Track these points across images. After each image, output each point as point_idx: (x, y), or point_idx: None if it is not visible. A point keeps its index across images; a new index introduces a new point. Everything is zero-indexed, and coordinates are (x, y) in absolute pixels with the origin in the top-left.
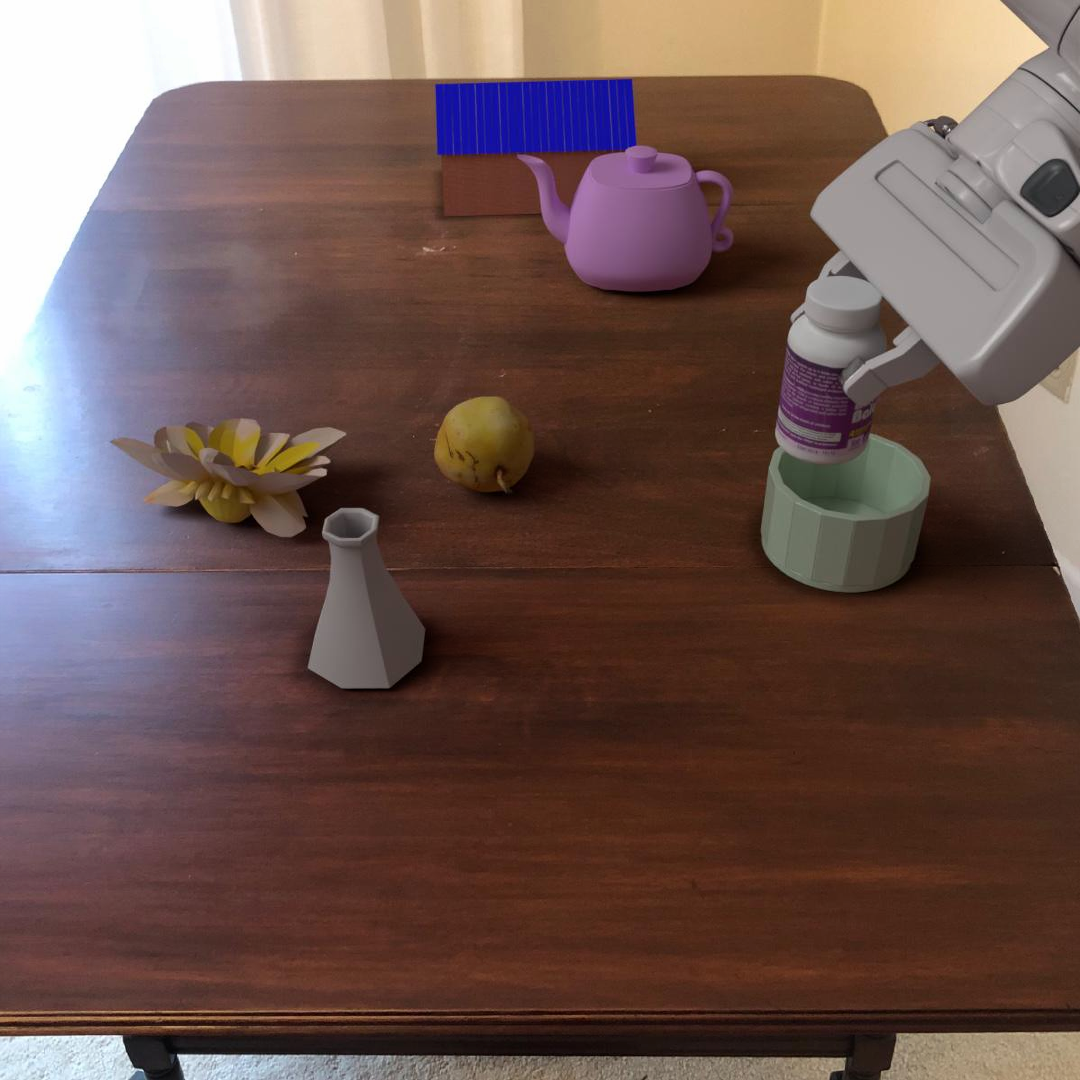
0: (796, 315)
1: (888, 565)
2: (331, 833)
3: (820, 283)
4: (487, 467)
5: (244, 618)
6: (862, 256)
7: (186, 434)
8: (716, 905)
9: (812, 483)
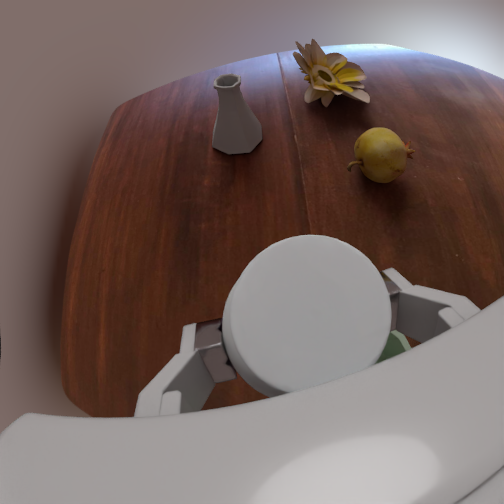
0: (386, 272)
1: None
2: (146, 148)
3: (348, 263)
4: (358, 154)
5: (257, 100)
6: (432, 352)
7: (343, 61)
8: (94, 278)
9: (390, 357)
